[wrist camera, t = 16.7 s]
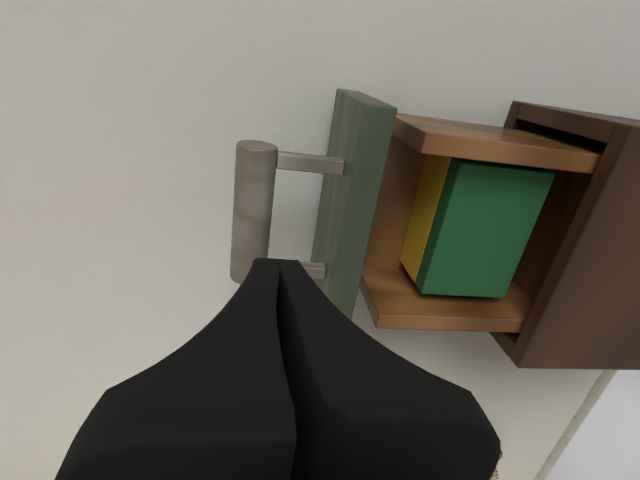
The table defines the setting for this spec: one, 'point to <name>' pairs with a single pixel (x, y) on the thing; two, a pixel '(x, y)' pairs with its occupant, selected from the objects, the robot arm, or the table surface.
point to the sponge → (471, 225)
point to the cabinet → (588, 255)
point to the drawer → (403, 210)
